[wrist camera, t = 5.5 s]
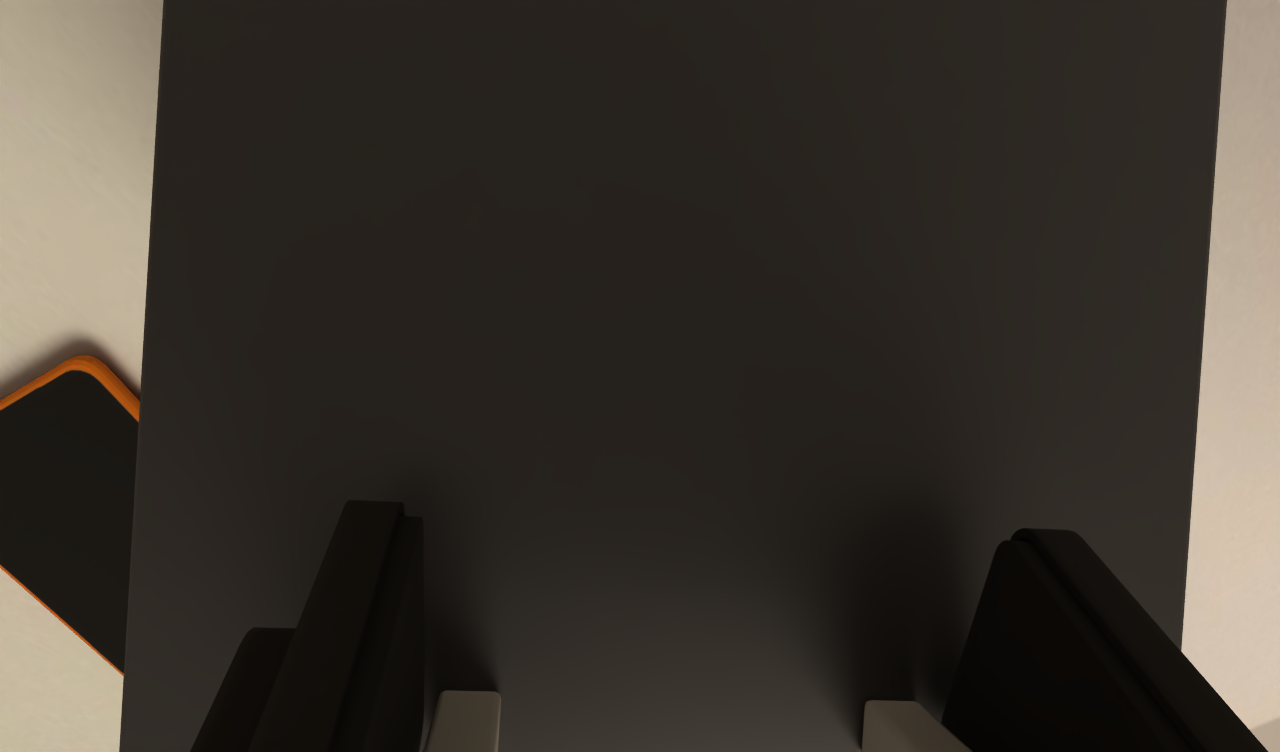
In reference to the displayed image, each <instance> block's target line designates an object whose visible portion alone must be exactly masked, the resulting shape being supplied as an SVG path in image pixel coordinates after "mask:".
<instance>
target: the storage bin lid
mask: <svg viewBox="0 0 1280 752" xmlns="http://www.w3.org/2000/svg"><path fill="white" fill-rule="evenodd" d="M1226 6H1227V0H164V1H163V18H162V35H161V52H160V69H159V86H158V103H157V120H156V137H155V154H154V171H153V188H152V205H151V222H150V239H149V256H148V273H147V290H146V307H145V324H144V341H143V358H142V375H141V392H140V409H139V427H138V444H137V461H136V478H135V495H134V512H133V529H132V546H131V563H130V580H129V597H128V614H127V631H126V648H125V665H124V682H123V699H122V716H121V733H120V750H119V752H190V751H191V748H192V746H193V744H194V742H195V740H196V738H197V736H198V733H199V731H200V729H201V727H202V725H203V723H204V721H205V718H206V716H207V714H208V712H209V710H210V708H211V705H212V703H213V701H214V699H215V697H216V695H217V693H218V690H219V688H220V686H221V684H222V682H223V680H224V678H225V675H226V673H227V671H228V669H229V667H230V665H231V662H232V660H233V658H234V656H235V654H236V652H237V650H238V647H239V645H240V643H241V642H242V640H243V638H244V637H245V635H246V633H247V632H248V631H249V630H251V629H252V628H253V627H264V628H296V627H297V625H298V622H299V620H300V617H301V615H302V612H303V609H304V607H305V604H306V602H307V599H308V597H309V594H310V592H311V589H312V587H313V584H314V582H315V579H316V576H317V574H318V571H319V569H320V566H321V564H322V561H323V559H324V556H325V554H326V551H327V549H328V546H329V543H330V541H331V538H332V536H333V533H334V531H335V528H336V526H337V523H338V521H339V518H340V516H341V513H342V510H343V508H344V506H345V504H346V502H347V501H348V500H367V501H391V502H403V504H404V509H405V516H415V517H422V518H423V524H424V720H423V731H422V740H421V746H420V752H973V751H972V750H970V749H969V748H968V747H967V746H966V745H965V744H964V743H963V742H961V741H960V740H959V739H958V738H957V737H956V736H955V735H954V734H953V733H951V732H950V731H949V730H948V729H947V728H946V727H945V726H944V725H943V724H941V720H942V715H943V712H944V709H945V706H946V703H947V700H948V697H949V694H950V690H951V687H952V684H953V681H954V678H955V675H956V672H957V669H958V665H959V662H960V659H961V656H962V653H963V650H964V647H965V644H966V641H967V637H968V634H969V631H970V628H971V625H972V622H973V619H974V616H975V613H976V609H977V606H978V603H979V600H980V597H981V594H982V591H983V588H984V585H985V581H986V578H987V575H988V572H989V569H990V566H991V563H992V560H993V557H994V553H995V551H996V549H997V546H998V545H999V544H1000V543H1001V542H1002V541H1005V540H1010V539H1011V537H1012V535H1013V534H1014V533H1015V532H1016V531H1017V530H1019V529H1022V528H1035V529H1059V530H1071V531H1075V532H1076V533H1077V534H1078V535H1080V536H1081V537H1082V538H1083V539H1084V540H1085V542H1086V543H1087V544H1088V545H1089V546H1090V547H1091V548H1092V550H1093V551H1094V552H1095V553H1096V554H1097V555H1098V557H1099V558H1100V559H1101V560H1102V561H1103V562H1104V563H1105V565H1106V566H1107V567H1108V568H1109V569H1110V570H1111V571H1112V573H1113V574H1114V575H1115V576H1116V577H1117V578H1118V580H1119V581H1120V582H1121V583H1122V584H1123V585H1124V586H1125V588H1126V589H1127V590H1128V591H1129V592H1130V593H1131V594H1132V596H1133V597H1134V598H1135V599H1136V600H1137V601H1138V603H1139V604H1140V605H1141V606H1142V607H1143V608H1144V609H1145V611H1146V612H1147V613H1148V614H1149V615H1150V616H1151V618H1152V619H1153V620H1154V621H1155V622H1156V623H1157V624H1158V626H1159V627H1160V628H1161V629H1162V630H1163V631H1164V632H1165V634H1166V635H1167V636H1168V637H1169V638H1170V639H1171V641H1172V642H1173V643H1174V644H1175V645H1176V646H1177V647H1178V649H1179V650H1180V651H1181V646H1182V632H1183V618H1184V603H1185V589H1186V575H1187V561H1188V547H1189V532H1190V518H1191V504H1192V490H1193V475H1194V461H1195V447H1196V433H1197V418H1198V404H1199V390H1200V376H1201V362H1202V347H1203V333H1204V319H1205V305H1206V290H1207V276H1208V262H1209V248H1210V233H1211V219H1212V205H1213V191H1214V177H1215V162H1216V148H1217V134H1218V120H1219V105H1220V91H1221V77H1222V63H1223V49H1224V34H1225V20H1226Z"/></svg>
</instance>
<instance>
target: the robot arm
mask: <svg viewBox="0 0 1280 752" xmlns="http://www.w3.org/2000/svg"><path fill="white" fill-rule="evenodd" d="M423 720H424V524H423V518H422V517H415V516H405V509H404V504H403V502H391V501H367V500H348V501H347V502H346V504H345V506H344V508H343V510H342V513H341V516H340V518H339V521H338V523H337V526H336V528H335V531H334V533H333V536H332V538H331V541H330V543H329V546H328V549H327V551H326V554H325V556H324V559H323V561H322V564H321V566H320V569H319V571H318V574H317V576H316V579H315V582H314V584H313V587H312V589H311V592H310V594H309V597H308V599H307V602H306V604H305V607H304V609H303V612H302V615H301V617H300V620H299V622H298V625H297V627H296V628H264V627H253V628H252V629H251V630H249V631H248V632H247V633H246V635H245V637H244V638H243V640H242V642H241V643H240V645H239V647H238V650H237V652H236V654H235V656H234V658H233V660H232V662H231V665H230V667H229V669H228V671H227V673H226V675H225V678H224V680H223V682H222V684H221V686H220V688H219V690H218V693H217V695H216V697H215V699H214V701H213V703H212V705H211V708H210V710H209V712H208V714H207V716H206V718H205V721H204V723H203V725H202V727H201V729H200V731H199V733H198V736H197V738H196V740H195V742H194V744H193V746H192V748H191V751H190V752H420V746H421V740H422V731H423ZM941 724H943V725H944V726H945V727H946V728H947V729H948V730H949V731H950V732H951V733H953V734H954V735H955V736H956V737H957V738H958V739H959V740H960V741H961V742H963V743H964V744H965V745H966V746H967V747H968V748H969V749H970V750H972V751H973V752H1268V751H1267V750H1266V749H1265V747H1264V746H1263V745H1262V744H1261V743H1260V742H1259V741H1258V740H1257V738H1256V737H1255V736H1254V735H1253V734H1252V733H1251V731H1250V730H1249V729H1248V728H1247V727H1246V726H1245V724H1244V723H1243V722H1242V721H1241V720H1240V719H1239V718H1238V716H1237V715H1236V714H1235V713H1234V712H1233V711H1232V710H1231V708H1230V707H1229V706H1228V705H1227V704H1226V703H1225V701H1224V700H1223V699H1222V698H1221V697H1220V696H1219V695H1218V693H1217V692H1216V691H1215V690H1214V689H1213V688H1212V687H1211V685H1210V684H1209V683H1208V682H1207V681H1206V680H1205V678H1204V677H1203V676H1202V675H1201V674H1200V673H1199V672H1198V670H1197V669H1196V668H1195V667H1194V666H1193V665H1192V664H1191V662H1190V661H1189V660H1188V659H1187V658H1186V657H1185V655H1184V654H1183V653H1182V652H1181V651H1180V650H1179V649H1178V647H1177V646H1176V645H1175V644H1174V643H1173V642H1172V641H1171V639H1170V638H1169V637H1168V636H1167V635H1166V634H1165V632H1164V631H1163V630H1162V629H1161V628H1160V627H1159V626H1158V624H1157V623H1156V622H1155V621H1154V620H1153V619H1152V618H1151V616H1150V615H1149V614H1148V613H1147V612H1146V611H1145V609H1144V608H1143V607H1142V606H1141V605H1140V604H1139V603H1138V601H1137V600H1136V599H1135V598H1134V597H1133V596H1132V594H1131V593H1130V592H1129V591H1128V590H1127V589H1126V588H1125V586H1124V585H1123V584H1122V583H1121V582H1120V581H1119V580H1118V578H1117V577H1116V576H1115V575H1114V574H1113V573H1112V571H1111V570H1110V569H1109V568H1108V567H1107V566H1106V565H1105V563H1104V562H1103V561H1102V560H1101V559H1100V558H1099V557H1098V555H1097V554H1096V553H1095V552H1094V551H1093V550H1092V548H1091V547H1090V546H1089V545H1088V544H1087V543H1086V542H1085V540H1084V539H1083V538H1082V537H1081V536H1080V535H1078V534H1077V533H1076V532H1075V531H1071V530H1059V529H1035V528H1022V529H1019V530H1017V531H1016V532H1015V533H1014V534H1013V535H1012V537H1011V539H1010V540H1005V541H1002V542H1001V543H1000V544H999V545H998V546H997V549H996V551H995V553H994V557H993V560H992V563H991V566H990V569H989V572H988V575H987V578H986V581H985V585H984V588H983V591H982V594H981V597H980V600H979V603H978V606H977V609H976V613H975V616H974V619H973V622H972V625H971V628H970V631H969V634H968V637H967V641H966V644H965V647H964V650H963V653H962V656H961V659H960V662H959V665H958V669H957V672H956V675H955V678H954V681H953V684H952V687H951V690H950V694H949V697H948V700H947V703H946V706H945V709H944V712H943V715H942V720H941Z"/></svg>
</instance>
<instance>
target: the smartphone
mask: <svg viewBox="0 0 1280 752" xmlns="http://www.w3.org/2000/svg"><path fill="white" fill-rule="evenodd" d="M139 409H140V401H139V400H138V399H137V398H136V397H135V396H134V395H133V394H132V393H131V392H130V391H129V389H128V388H127V387H126V386H125V385H124V384H123V383H122V382H121V381H120V380H119V379H118V378H117V377H116V376H115V375H114V373H113V372H112V371H111V370H110V369H109V368H108V367H107V366H106V365H105V364H104V363H102V362H101V361H100V360H99V359H97V358H94V357H91V356H88V355H79V356H76V357H73V358H70V359H68V360H67V361H65V362H63V363H62V364H60V365H58V366H57V367H55V368H53V369H52V370H50V371H48V372H47V373H45V374H43V375H42V376H40V377H38V378H37V379H35V380H33V381H32V382H30V383H28V384H27V385H25V386H23V387H22V388H20V389H18V390H17V391H15V392H13V393H12V394H10V395H8V396H7V397H5V398H3V399H2V400H0V568H1V569H2V570H3V571H5V572H6V573H7V574H8V575H9V576H10V577H11V578H13V579H14V580H15V581H16V582H17V583H18V584H19V585H21V586H22V587H23V588H24V589H25V590H26V591H27V592H28V593H30V594H31V595H32V596H33V597H34V598H35V599H36V600H38V601H39V602H40V603H41V604H42V605H43V606H44V607H45V608H47V609H48V610H49V611H50V612H51V613H52V614H53V615H55V616H56V617H57V618H58V619H59V620H60V621H61V622H63V623H64V624H65V625H66V626H67V627H68V628H69V629H70V630H72V631H73V632H74V633H75V634H76V635H77V636H78V637H80V638H81V639H82V640H83V641H84V642H85V643H86V644H88V645H89V646H90V647H91V648H92V649H93V650H94V651H95V652H97V653H98V654H99V655H100V656H101V657H102V658H103V659H105V660H106V661H107V662H108V663H109V664H110V665H111V666H112V667H114V668H115V669H116V670H117V671H118V672H119V673H120V674H122V675H123V676H124V665H125V648H126V631H127V614H128V597H129V580H130V563H131V546H132V529H133V512H134V495H135V478H136V461H137V444H138V427H139Z"/></svg>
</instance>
